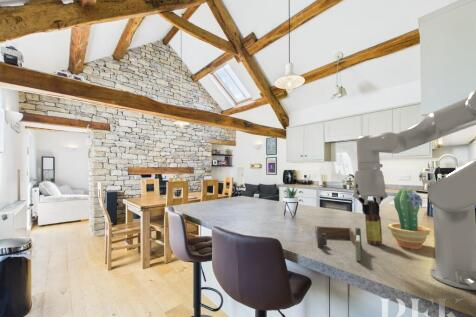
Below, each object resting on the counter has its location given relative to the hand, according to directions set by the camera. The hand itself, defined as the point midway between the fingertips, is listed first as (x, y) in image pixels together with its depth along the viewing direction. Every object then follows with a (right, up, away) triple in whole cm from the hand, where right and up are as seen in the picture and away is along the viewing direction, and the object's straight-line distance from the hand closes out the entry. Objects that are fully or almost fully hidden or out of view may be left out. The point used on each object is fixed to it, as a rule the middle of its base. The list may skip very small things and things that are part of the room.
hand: (371, 213), depth 85 cm
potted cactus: (+25, -18, +13) cm, 33 cm away
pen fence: (-5, -18, +19) cm, 27 cm away
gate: (-3, -17, +2) cm, 17 cm away
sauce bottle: (+12, -18, +17) cm, 27 cm away
